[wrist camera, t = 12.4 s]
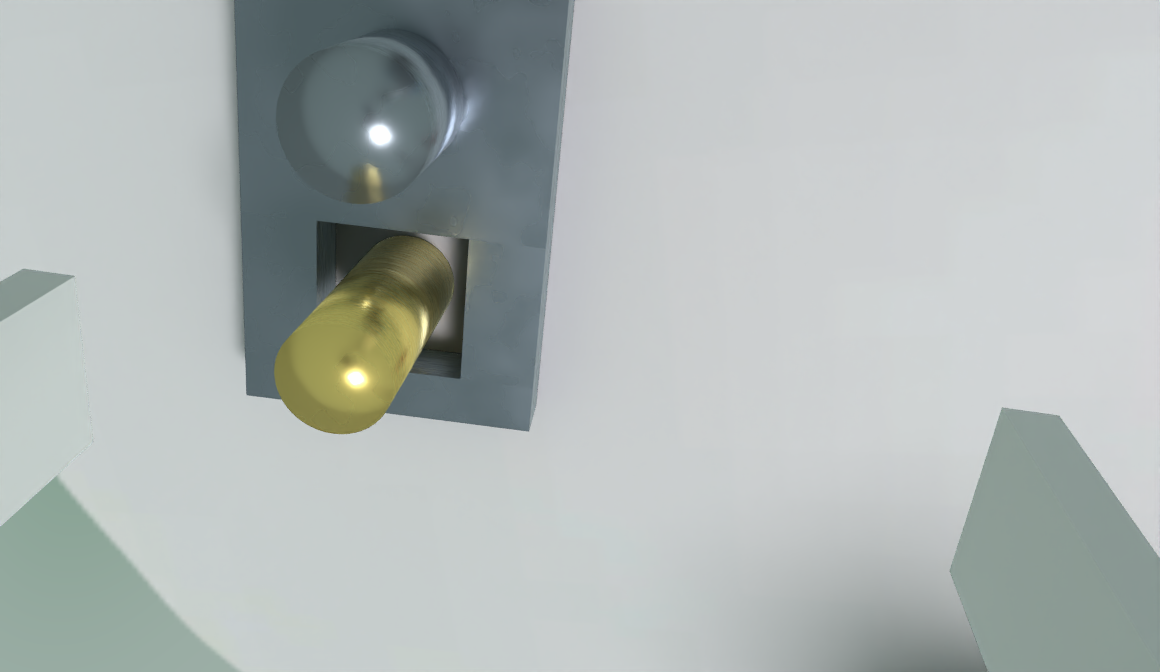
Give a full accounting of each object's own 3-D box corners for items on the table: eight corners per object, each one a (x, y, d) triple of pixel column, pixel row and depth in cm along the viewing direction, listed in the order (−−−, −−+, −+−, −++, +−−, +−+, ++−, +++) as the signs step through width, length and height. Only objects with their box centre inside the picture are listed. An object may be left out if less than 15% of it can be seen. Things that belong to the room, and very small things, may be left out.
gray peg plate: (259, -65, 37) (158, -63, 30) (577, -29, 37) (554, -18, 29) (268, 370, 44) (188, 459, 37) (536, 404, 44) (509, 501, 36)
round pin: (361, 230, 41) (273, 316, 32) (456, 242, 41) (395, 332, 32) (359, 318, 43) (274, 425, 34) (451, 330, 43) (391, 441, 33)
